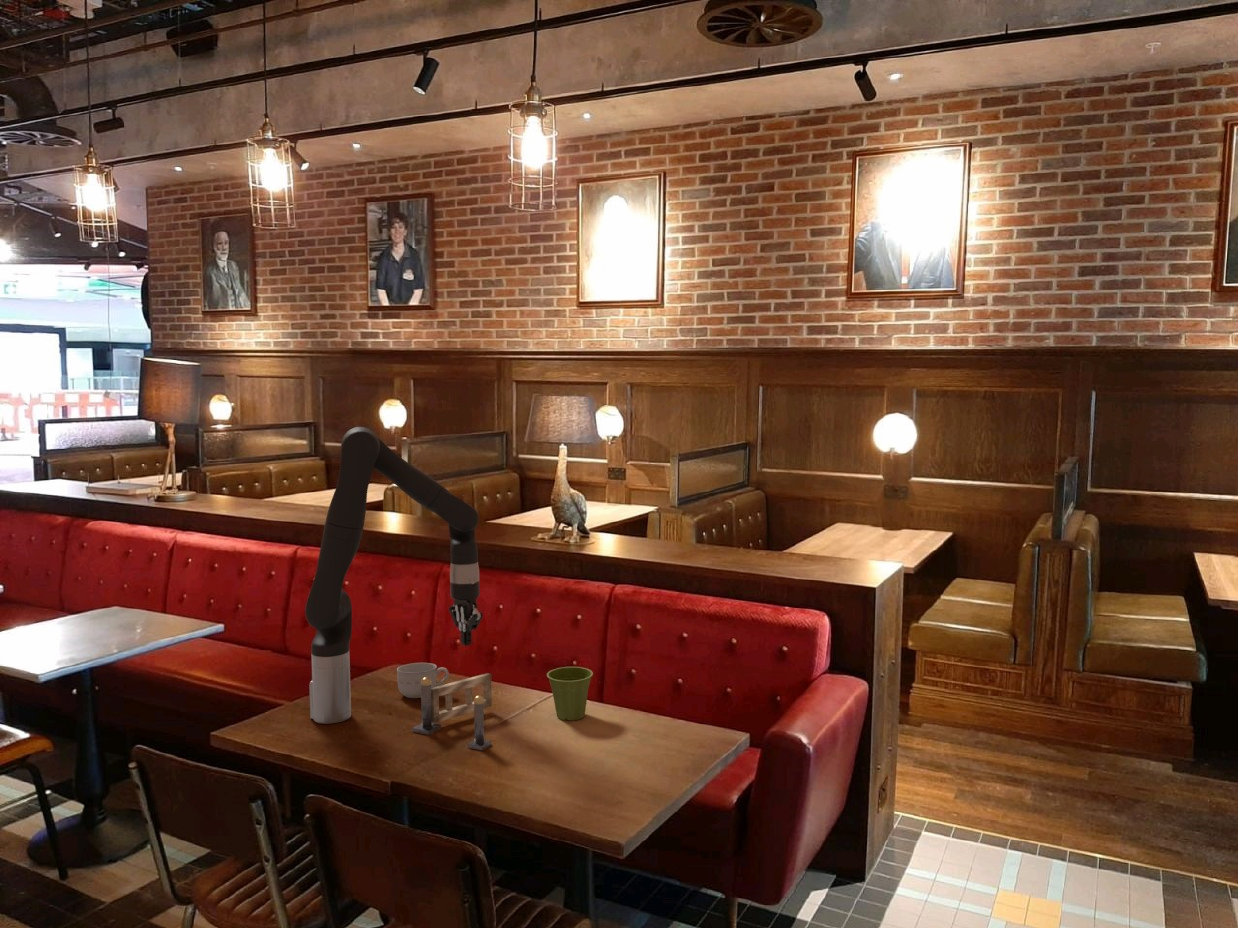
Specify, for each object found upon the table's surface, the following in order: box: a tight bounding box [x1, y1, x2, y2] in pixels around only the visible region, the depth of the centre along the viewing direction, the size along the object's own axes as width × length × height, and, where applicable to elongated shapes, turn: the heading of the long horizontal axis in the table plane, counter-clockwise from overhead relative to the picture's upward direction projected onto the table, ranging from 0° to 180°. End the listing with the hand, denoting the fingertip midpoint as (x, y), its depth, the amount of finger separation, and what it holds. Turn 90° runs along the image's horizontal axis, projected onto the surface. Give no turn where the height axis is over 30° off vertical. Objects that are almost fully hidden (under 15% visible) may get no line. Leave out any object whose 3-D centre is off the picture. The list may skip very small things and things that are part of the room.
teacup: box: [396, 662, 450, 699], centre depth 252 cm, size 14×11×8 cm
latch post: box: [467, 695, 492, 751], centre depth 217 cm, size 4×4×12 cm
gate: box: [431, 672, 493, 724], centre depth 234 cm, size 17×2×8 cm, turn 134°
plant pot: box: [546, 666, 594, 721], centre depth 236 cm, size 12×12×11 cm
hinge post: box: [411, 677, 442, 736], centre depth 227 cm, size 5×5×13 cm
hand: (466, 644), depth 241 cm, fingers closed
